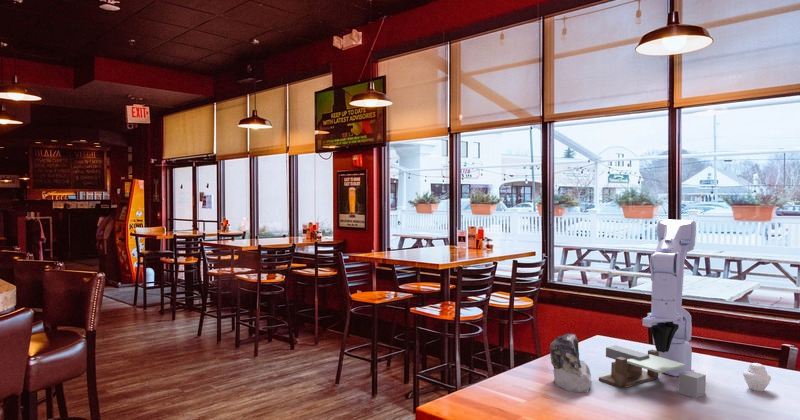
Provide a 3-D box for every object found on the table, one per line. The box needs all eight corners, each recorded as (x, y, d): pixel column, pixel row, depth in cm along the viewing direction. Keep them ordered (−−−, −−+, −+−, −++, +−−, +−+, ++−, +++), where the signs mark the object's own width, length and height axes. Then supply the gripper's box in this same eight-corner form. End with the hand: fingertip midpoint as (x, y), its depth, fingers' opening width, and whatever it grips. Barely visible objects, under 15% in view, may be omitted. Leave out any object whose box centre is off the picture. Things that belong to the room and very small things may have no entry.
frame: (635, 370, 154) (636, 345, 154) (658, 378, 148) (658, 351, 148) (598, 380, 145) (599, 353, 145) (621, 388, 140) (622, 359, 139)
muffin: (746, 383, 145) (746, 357, 145) (773, 389, 140) (773, 363, 140) (739, 389, 140) (740, 362, 140) (767, 395, 136) (768, 368, 136)
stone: (603, 399, 136) (583, 350, 133) (566, 411, 138) (545, 364, 135) (590, 368, 149) (570, 323, 146) (556, 380, 151) (536, 336, 148)
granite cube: (687, 389, 140) (687, 370, 140) (705, 394, 136) (705, 375, 136) (678, 392, 137) (679, 373, 137) (696, 398, 134) (697, 378, 134)
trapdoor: (623, 352, 154) (623, 343, 154) (685, 371, 139) (685, 361, 139) (598, 358, 149) (598, 349, 149) (659, 378, 133) (660, 367, 133)
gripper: (665, 294, 145) (664, 343, 146) (632, 298, 138) (631, 351, 138) (691, 298, 139) (689, 350, 139) (657, 303, 132) (656, 358, 132)
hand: (662, 351), depth 138 cm, fingers closed
